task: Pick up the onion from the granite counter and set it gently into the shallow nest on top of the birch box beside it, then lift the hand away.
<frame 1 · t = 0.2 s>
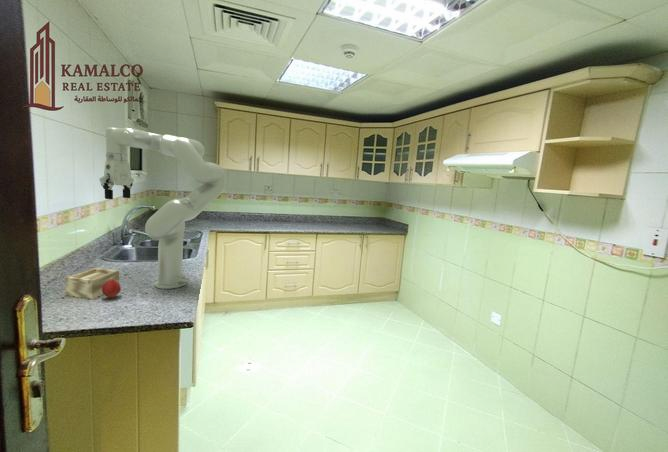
hand: (118, 198, 136), 36 cm above the countertop, tool pointing down, fingers open, 9 cm apart
birch box: (93, 292, 125), on the countertop
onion: (111, 298, 121), on the countertop
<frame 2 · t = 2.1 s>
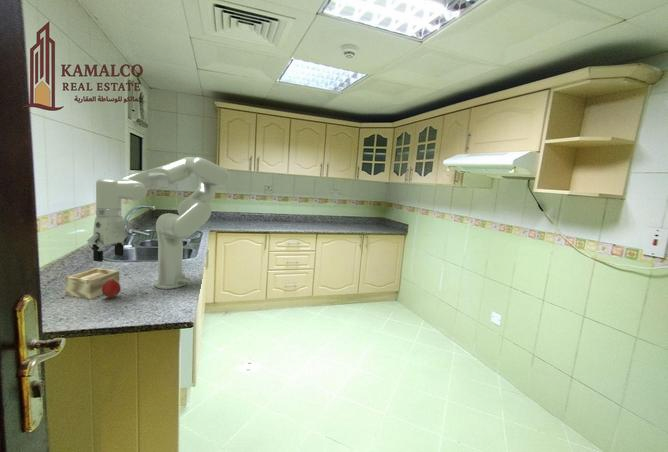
hand: (109, 258, 118), 16 cm above the countertop, tool pointing down, fingers open, 9 cm apart
nothing on the countertop moved.
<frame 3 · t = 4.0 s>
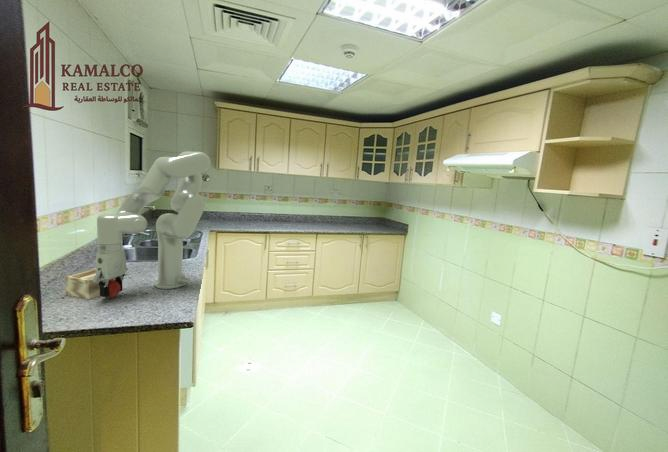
hand: (111, 293, 120), 2 cm above the countertop, tool pointing down, fingers closed on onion, 5 cm apart
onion: (111, 298, 121), on the countertop, touching gripper
everything else where it was.
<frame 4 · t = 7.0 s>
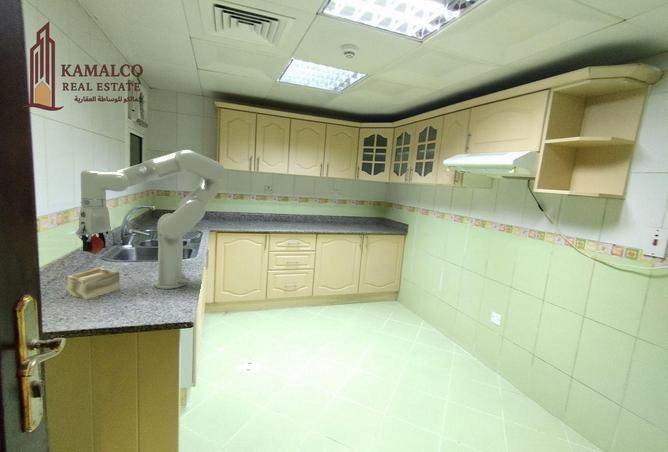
hand: (94, 249, 122), 18 cm above the countertop, tool pointing down, fingers closed on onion, 5 cm apart
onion: (94, 254, 122), point 15 cm above the countertop, touching gripper
everything else where it was.
when the fingers open (8 cm above the countertop, at t = 9.8 s): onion stays where it is, resting on birch box.
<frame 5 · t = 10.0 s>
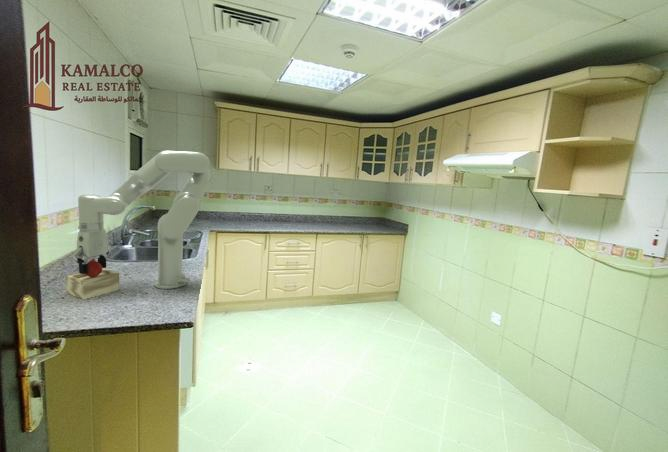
hand: (93, 270, 124), 9 cm above the countertop, tool pointing down, fingers open, 8 cm apart
birch box: (93, 292, 125), on the countertop, touching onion
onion: (93, 278, 125), point 5 cm above the countertop, touching birch box
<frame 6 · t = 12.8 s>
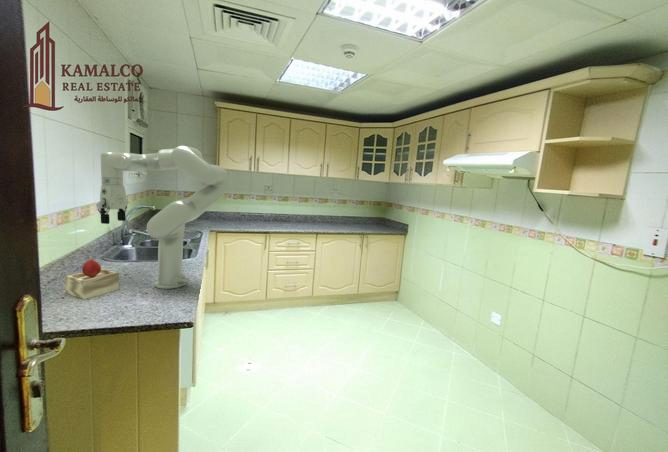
hand: (113, 222, 135), 26 cm above the countertop, tool pointing down, fingers open, 9 cm apart
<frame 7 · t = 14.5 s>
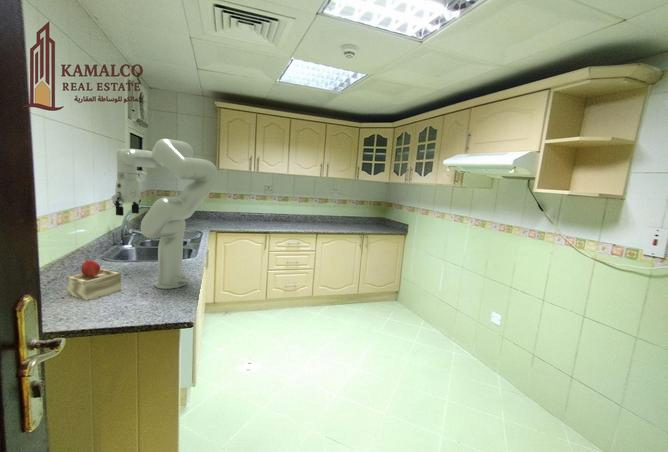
hand: (127, 214, 145), 28 cm above the countertop, tool pointing down, fingers open, 9 cm apart
birch box: (95, 293, 125), on the countertop, touching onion
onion: (95, 277, 124), point 6 cm above the countertop, touching birch box
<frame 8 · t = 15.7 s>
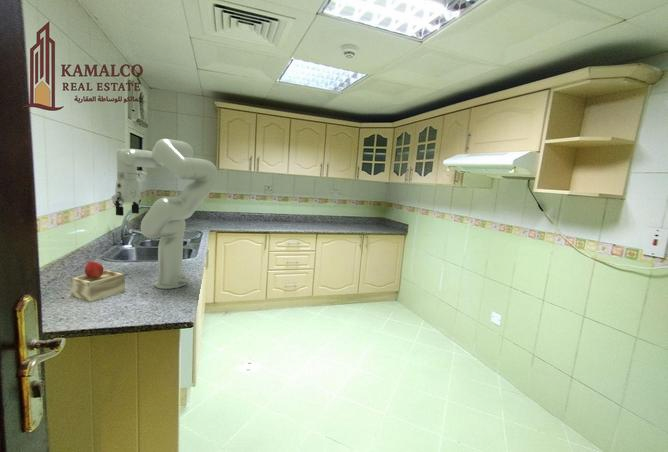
hand: (127, 214, 145), 28 cm above the countertop, tool pointing down, fingers open, 9 cm apart
birch box: (99, 294, 124), on the countertop, touching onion
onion: (99, 278, 123), point 6 cm above the countertop, touching birch box
at the end: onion inside the target area on the birch box (0.4 cm from its centre), point 6.7 cm above the birch box's base; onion point 6.3 cm above the countertop; the gripper is holding nothing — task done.
